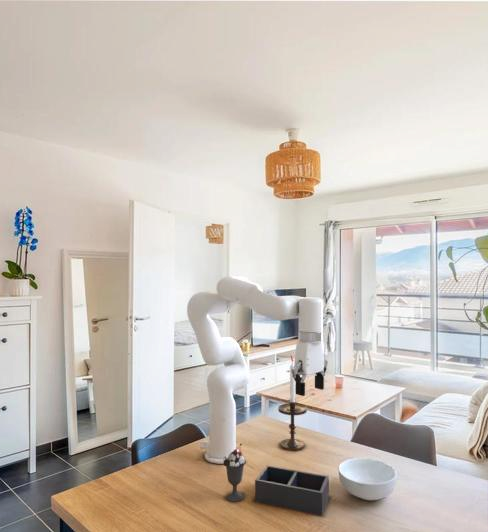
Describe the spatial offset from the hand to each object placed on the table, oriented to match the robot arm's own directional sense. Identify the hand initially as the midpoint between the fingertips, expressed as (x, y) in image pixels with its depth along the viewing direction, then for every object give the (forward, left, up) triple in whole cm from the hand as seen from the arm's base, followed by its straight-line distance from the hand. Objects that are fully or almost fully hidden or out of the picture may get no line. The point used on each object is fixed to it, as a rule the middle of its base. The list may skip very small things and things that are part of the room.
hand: (309, 391), depth 125 cm
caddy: (-3, -10, -29) cm, 30 cm away
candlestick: (-13, +26, -29) cm, 41 cm away
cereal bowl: (+17, +1, -29) cm, 34 cm away
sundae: (-19, -15, -29) cm, 37 cm away
